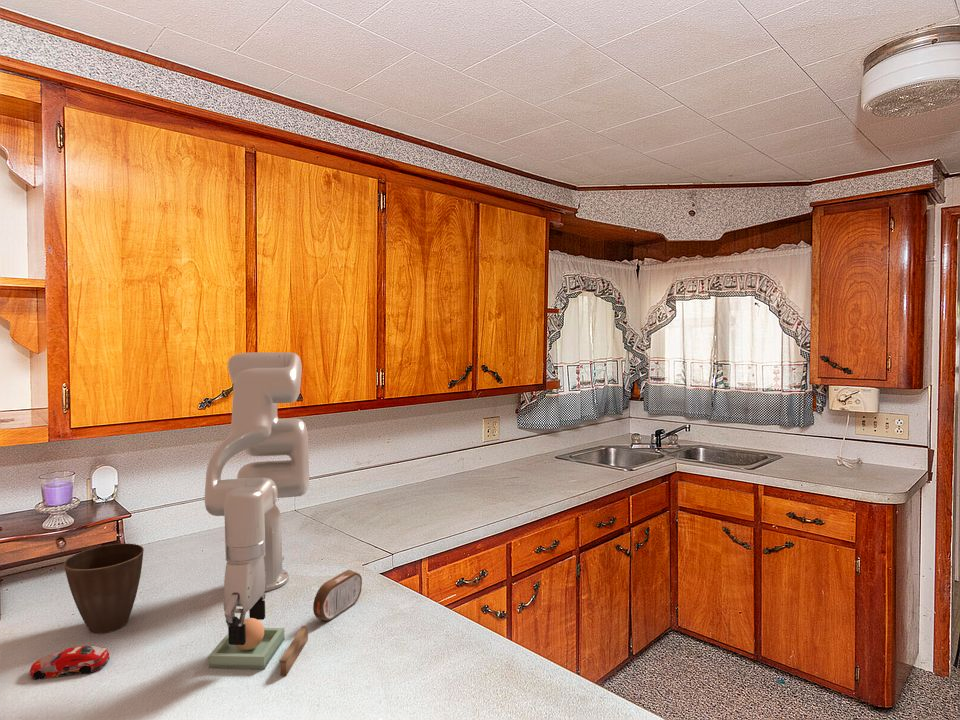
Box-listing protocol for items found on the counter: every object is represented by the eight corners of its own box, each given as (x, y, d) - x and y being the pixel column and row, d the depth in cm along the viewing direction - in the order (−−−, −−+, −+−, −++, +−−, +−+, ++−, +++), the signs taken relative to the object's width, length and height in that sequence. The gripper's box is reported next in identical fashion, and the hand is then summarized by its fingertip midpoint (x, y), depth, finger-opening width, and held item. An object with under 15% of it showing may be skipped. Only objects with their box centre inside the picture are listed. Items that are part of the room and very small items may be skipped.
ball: (239, 643, 125) (241, 613, 126) (268, 643, 125) (269, 614, 126) (226, 654, 119) (228, 623, 120) (256, 655, 119) (257, 624, 120)
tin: (354, 597, 147) (353, 563, 147) (364, 599, 146) (364, 566, 145) (312, 625, 134) (311, 588, 133) (323, 628, 132) (322, 591, 132)
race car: (24, 683, 113) (22, 663, 112) (38, 667, 118) (37, 647, 118) (101, 674, 115) (100, 654, 115) (112, 658, 121) (111, 639, 120)
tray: (233, 638, 128) (233, 627, 128) (284, 639, 127) (284, 627, 127) (208, 668, 117) (208, 655, 117) (264, 669, 117) (263, 656, 116)
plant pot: (65, 650, 123) (61, 575, 122) (69, 620, 136) (65, 551, 135) (148, 631, 131) (145, 559, 130) (144, 603, 144) (141, 538, 143)
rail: (302, 639, 127) (302, 626, 127) (308, 639, 127) (307, 626, 127) (280, 675, 114) (279, 660, 114) (286, 675, 114) (286, 660, 114)
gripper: (245, 533, 130) (247, 610, 131) (206, 567, 112) (209, 654, 114) (279, 534, 129) (281, 610, 131) (245, 567, 112) (248, 655, 113)
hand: (247, 631), depth 122 cm, fingers open, 9 cm apart
